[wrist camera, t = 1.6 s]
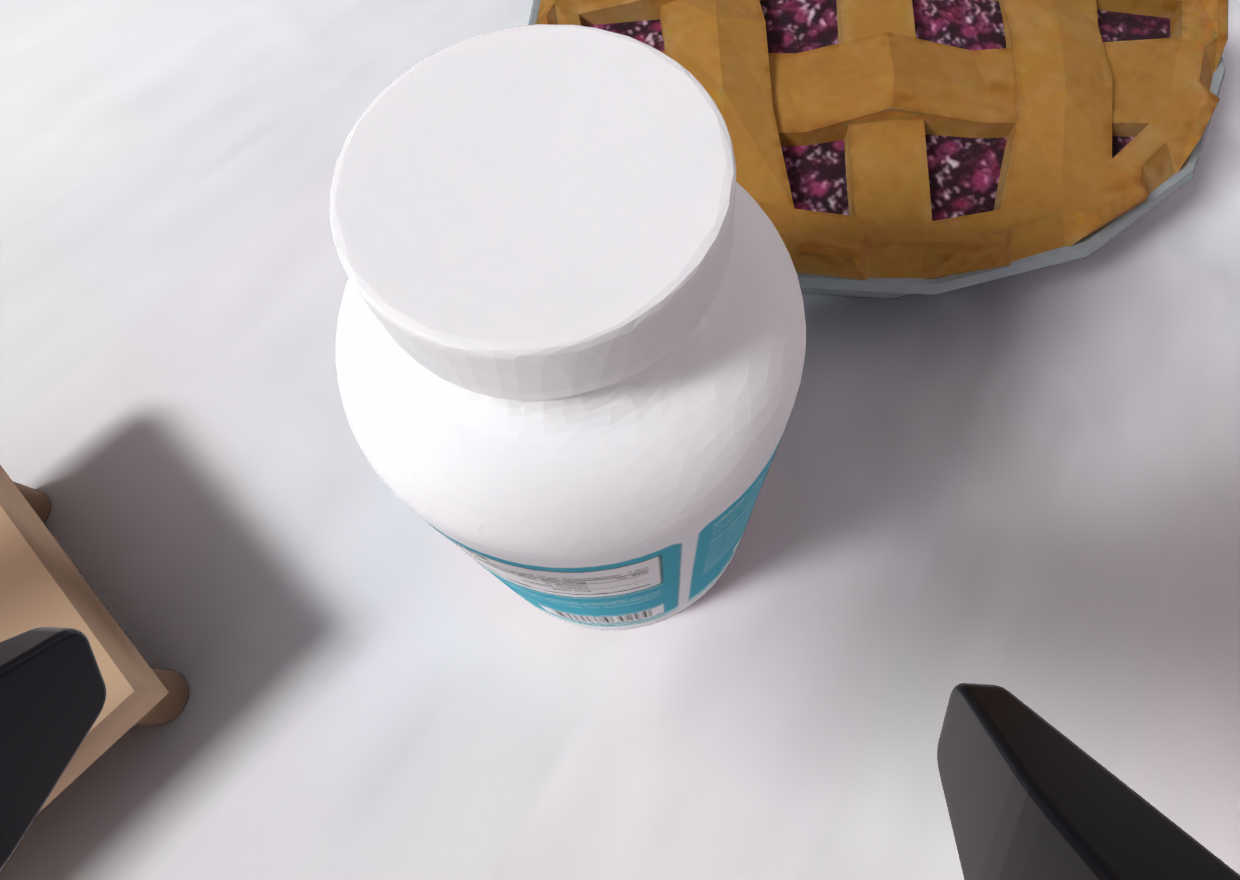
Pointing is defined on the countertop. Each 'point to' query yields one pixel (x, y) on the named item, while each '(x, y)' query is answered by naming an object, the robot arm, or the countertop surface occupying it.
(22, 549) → the square wooden stand
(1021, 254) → the pie
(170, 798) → the countertop surface
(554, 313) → the pill bottle
